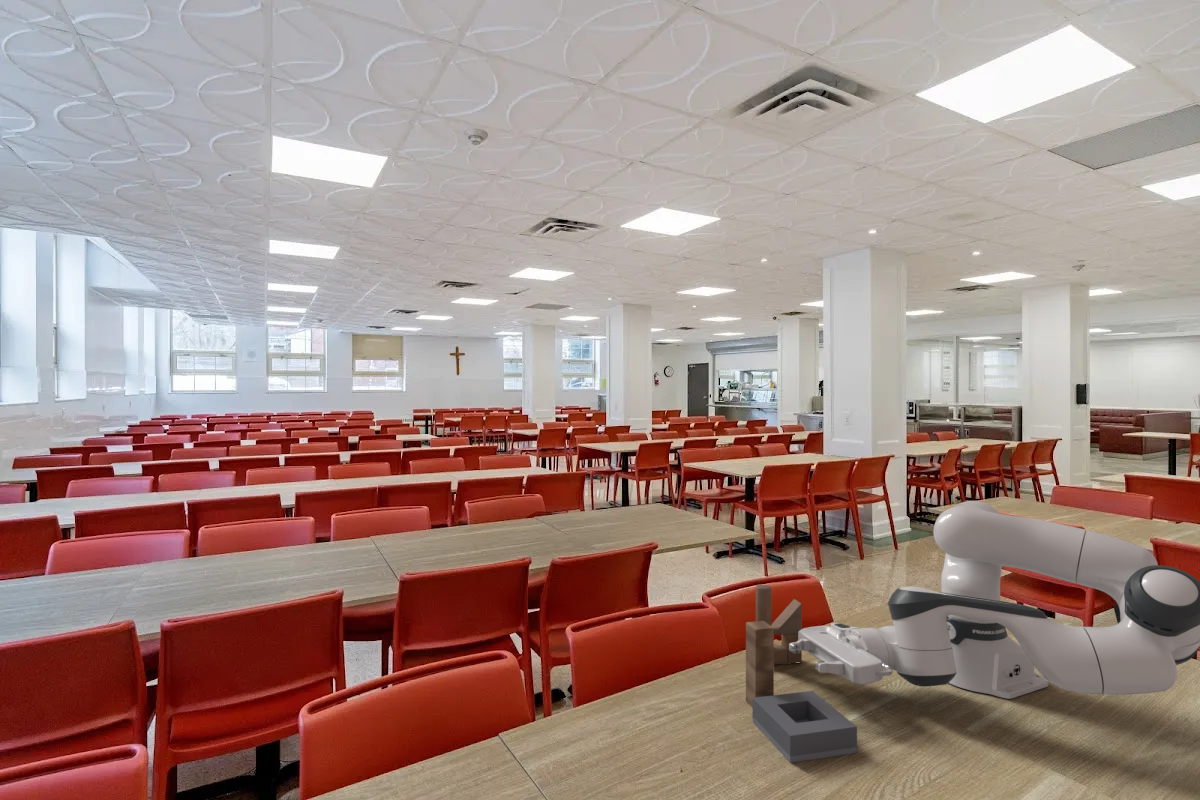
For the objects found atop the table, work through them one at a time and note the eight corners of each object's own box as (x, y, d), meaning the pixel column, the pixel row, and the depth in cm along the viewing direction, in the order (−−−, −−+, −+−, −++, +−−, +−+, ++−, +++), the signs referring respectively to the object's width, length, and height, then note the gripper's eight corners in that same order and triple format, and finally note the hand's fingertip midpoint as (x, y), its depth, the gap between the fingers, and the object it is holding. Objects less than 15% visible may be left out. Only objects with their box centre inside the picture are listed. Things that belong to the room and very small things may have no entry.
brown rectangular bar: (763, 698, 117) (763, 620, 117) (773, 708, 113) (773, 628, 113) (745, 700, 116) (745, 622, 116) (755, 710, 112) (755, 629, 112)
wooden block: (802, 664, 133) (802, 587, 133) (759, 666, 131) (759, 589, 132) (794, 657, 137) (794, 582, 137) (752, 659, 135) (752, 584, 135)
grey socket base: (812, 713, 111) (812, 690, 111) (857, 752, 98) (856, 726, 98) (752, 721, 108) (752, 697, 108) (790, 762, 95) (790, 735, 95)
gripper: (898, 689, 109) (835, 697, 106) (832, 647, 129) (777, 653, 126) (898, 656, 109) (835, 663, 106) (831, 619, 129) (777, 624, 126)
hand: (803, 657), depth 116 cm, fingers open, 8 cm apart
